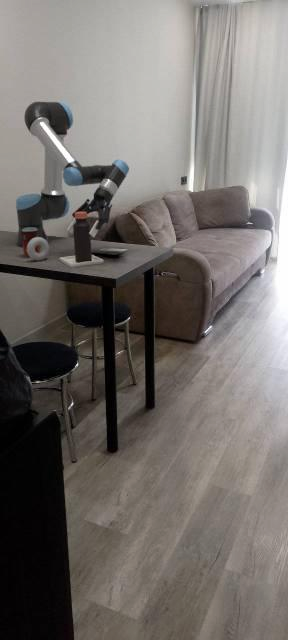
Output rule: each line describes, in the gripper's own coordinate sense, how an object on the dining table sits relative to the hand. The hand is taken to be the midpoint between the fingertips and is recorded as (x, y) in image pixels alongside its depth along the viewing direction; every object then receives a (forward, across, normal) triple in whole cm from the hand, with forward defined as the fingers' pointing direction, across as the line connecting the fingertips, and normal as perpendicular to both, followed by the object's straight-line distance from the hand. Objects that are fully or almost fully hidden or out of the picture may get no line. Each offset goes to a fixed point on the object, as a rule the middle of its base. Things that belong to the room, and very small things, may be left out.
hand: (80, 233), depth 206 cm
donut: (+15, -16, +2) cm, 23 cm away
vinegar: (+9, +2, +8) cm, 12 cm away
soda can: (+13, -26, +4) cm, 29 cm away
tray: (+9, 0, +8) cm, 12 cm away
